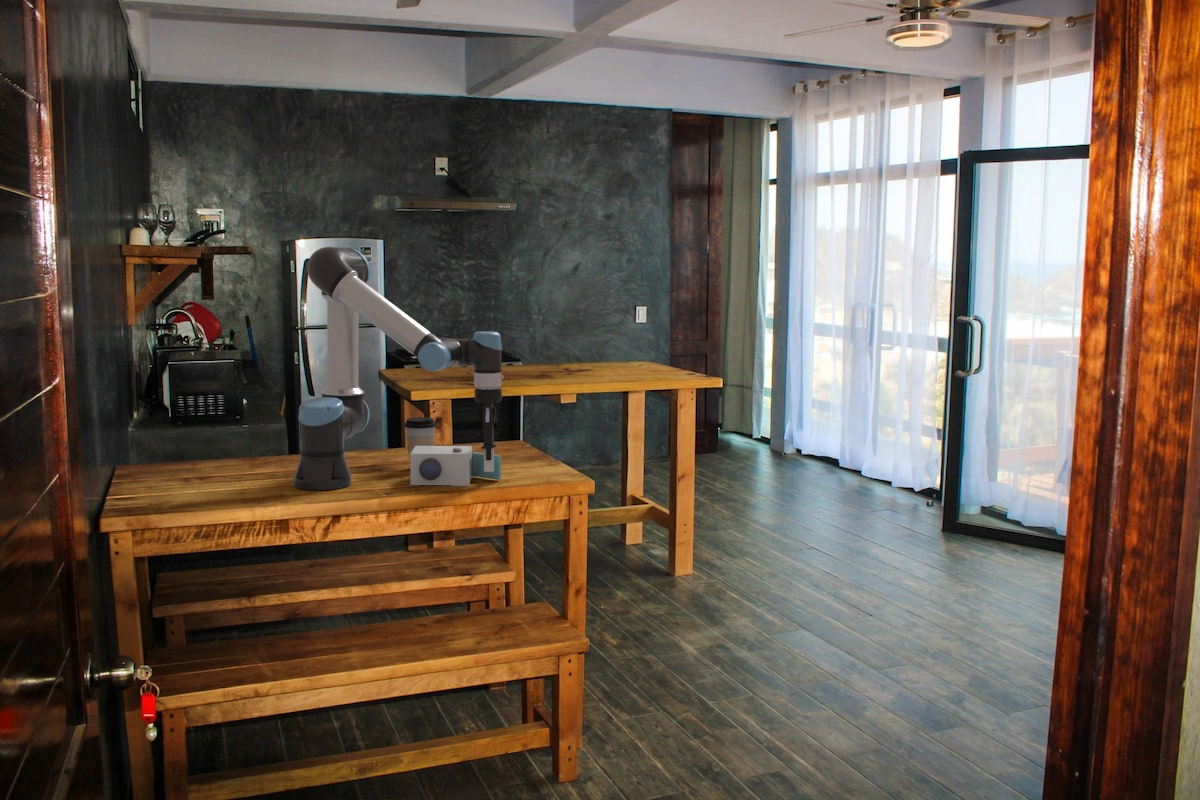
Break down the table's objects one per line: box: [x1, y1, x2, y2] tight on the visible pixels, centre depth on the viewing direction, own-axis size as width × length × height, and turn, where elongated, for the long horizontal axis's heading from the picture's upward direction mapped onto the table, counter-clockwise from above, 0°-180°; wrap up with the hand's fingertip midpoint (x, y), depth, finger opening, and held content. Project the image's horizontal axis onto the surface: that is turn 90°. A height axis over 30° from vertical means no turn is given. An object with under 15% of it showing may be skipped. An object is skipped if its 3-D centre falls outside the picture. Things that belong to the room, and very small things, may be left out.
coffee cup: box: [403, 416, 437, 460], centre depth 293 cm, size 9×9×15 cm
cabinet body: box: [409, 445, 473, 487], centre depth 276 cm, size 16×13×10 cm
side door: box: [472, 451, 502, 481], centre depth 281 cm, size 10×2×7 cm, turn 59°
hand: (489, 471), depth 276 cm, fingers closed
